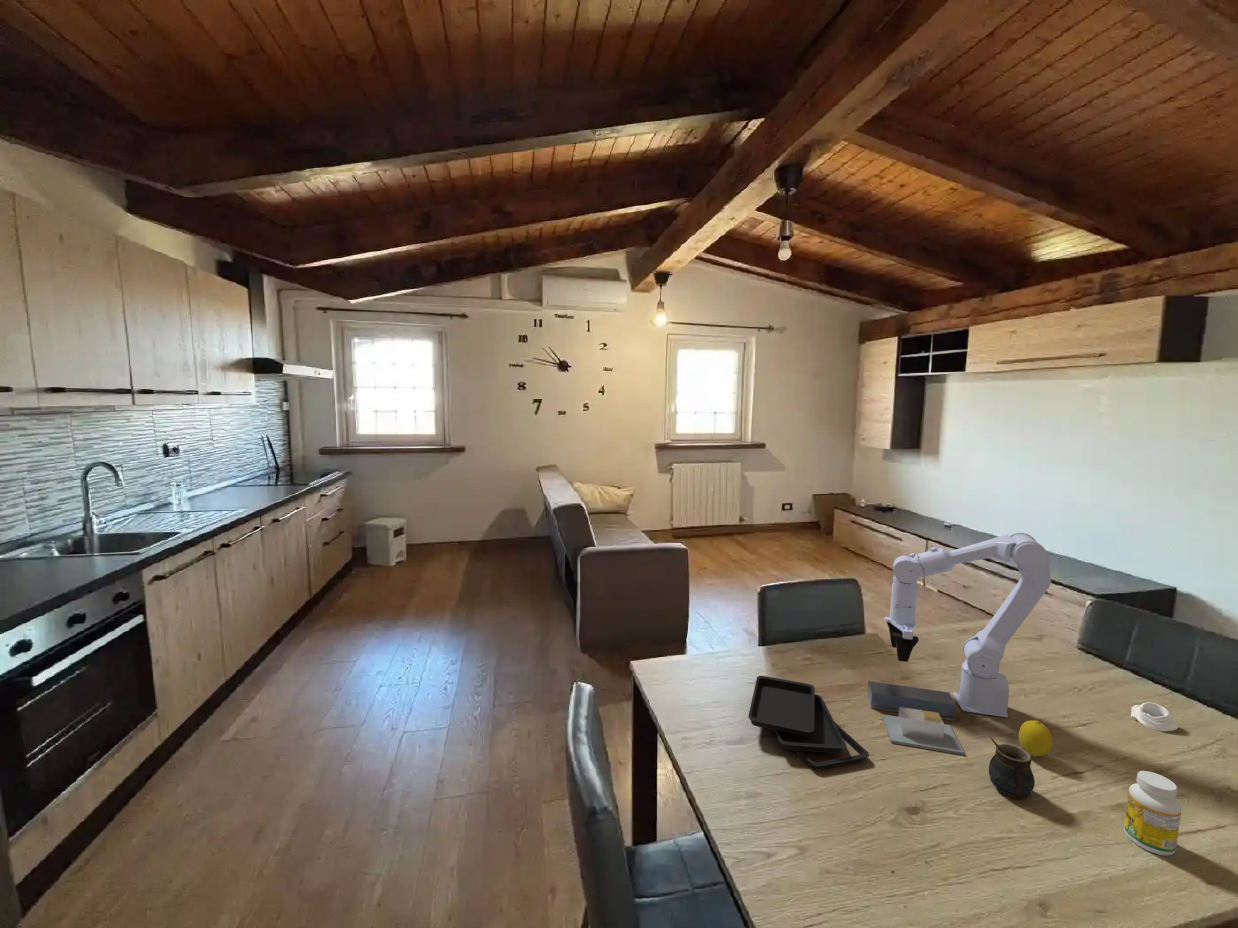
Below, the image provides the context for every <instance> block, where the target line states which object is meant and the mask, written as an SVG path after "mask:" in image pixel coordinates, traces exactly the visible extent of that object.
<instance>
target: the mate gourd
mask: <svg viewBox="0 0 1238 928" xmlns="http://www.w3.org/2000/svg"><path fill="white" fill-rule="evenodd" d="M989 739H990V740H991V742H992V743H993V744H994V745H995V753H994V755H993V756H992V758H991V759H990V761H989V764H988V775H989V779H990V782H991V783H992V785H993V786H994V787H995V788H996V789H997V790H998V791H999V792H1001V793H1002V794H1003V795H1006V796H1008V797H1011V798H1014V799H1016V800H1019V799H1025V798H1027V797H1029V796H1030V795H1032V792H1033V790H1034V788H1035V782H1036V781H1035V775H1034V773H1033V771H1032V769H1031V765H1032V756H1031V754H1030V753H1028V752H1027V751H1025V750H1024V749H1023V748H1021V747H1020V746H1017V745H1014V744H1010V743H1000V744H998V743H997V742H996V741H995V740H994V738H992V737H991V736H989Z"/></svg>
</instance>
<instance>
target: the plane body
mask: <svg viewBox="0 0 1238 928" xmlns="http://www.w3.org/2000/svg"><path fill="white" fill-rule="evenodd" d="M867 683H868V684H867V695H866V696H867V699H868V703H869V706H870V708H871V709H875V710H883V711H889V712H895V713H899V707H903V708H910V709H917V710H923V711H930V712H936V713H939V715H940V717H941V719H942V720H945V721H951V722H955V721H956V711H957V704H956V702H955V700H954V699H953V696H952V695H951V693H950V692H948V691H940V690H936V689H927V688H920V687H913V686H906V685H899V684H891V683H884V682H880V681H879V682H878V681H871V680H868V682H867Z"/></svg>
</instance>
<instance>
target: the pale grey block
mask: <svg viewBox="0 0 1238 928" xmlns="http://www.w3.org/2000/svg"><path fill="white" fill-rule="evenodd" d="M897 717H898V725H899V728H900V730H901V733H902V735H905V736H911V737H917V738H923V739H929V740H935V741H941V742H943V735H944V724H945V723H944V720H943V719H941V717H940V715H939V713H936V712H930V711H923V710H917V709H910V708H903V707H899V712H898V716H897Z"/></svg>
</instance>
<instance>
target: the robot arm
mask: <svg viewBox="0 0 1238 928" xmlns="http://www.w3.org/2000/svg"><path fill="white" fill-rule="evenodd" d="M929 549H930V550H928V551H923V552H919V553H914V552H912V553H910V554H909V556H908V555H900V556H898V557H896V558H895V560H894V561H893V562H892V564H891V565H892V570H893V576H892V577H893V578H892V584H891V595H890V607H889V608H890V610H889V616H884V618H883V620H884V621H885V622H886V624H887V627H888V631H889V632H888V633H889V639H890V645H891V647H892V648H895V649H896V656H897V660H898V661H899V662H905V663H908V662H909V660H910V657H911V654H912V651H913V650H914V648H915V646H916V645H917V644H918V642H919V640H920V639H919V637H918V636H915V635H914V630H915V628H916V611H917V597H918V596H917V595H918V587H917V586H918V585H917V583H918V582H917V581H918V580H919V579H920V578H925V577H929V576H933V575H939V574H942V573H947V572H952V571H953V568H954V567H955V565H959V564H964V563H969V562H974V561H981V560H986V559H990V558H994V559H997V560H1000V561H1004V562H1007V563H1010V562H1011V559H1013V561H1014V562H1015V564H1016V567H1017V569H1018V571H1019V575H1020V577H1021V578H1020V579H1019V580H1018V582H1017V583H1016V584H1015V586H1014V587H1013V589H1012V590H1011V591H1010V593H1009V594H1008V596H1007V597H1006V598H1005V599H1004V601H1003V603H1002V604H1001V605H1000V607H999V608H998V609H997V611H996V612H995V614H994V615H993V616H992V618H991V619H990V620H989V622H988V623H987V625H986V626H985V628H983V629H982V630H979V631H978V632H977V633H976V634H975V635H974V636H973V637H971V638H968V639H967V640H966V641H964V643H963V645H962V650H963V651H962V652H963V654H964V656H965V660H964V662H963V663H962V664H961V668H960V669H961V670H960V680H959V681H960V682H959V692H953V693H952V695H953V697H954V699H955V701H956V702H957V703H958V705H959V706H960V709H961V710H962V711H963V712H967V713H968V712H969V713H973V714H979V715H989V716H995V717H1000V718H1001V717H1002V718H1008V717H1009V715H1008V707H1009V706H1008V704H1009V694H1010V687H1009V684H1010V683H1009V681H1008V678H1007V676H1006V675H1005V674H1004V673H1000V672H999V671H1000V664H1001V661H1002V659H1003V658H1004V655H1005V650H1006V646H1007V644H1008V643H1009V641H1010V640H1011V639H1012V637H1013V636H1014V635H1015V633H1016V632H1017V631H1018V630H1019V628H1020V627H1021V626H1022V624H1023V623H1024V622H1025V620H1026V619H1027V617H1028V616H1029V615H1030V613H1031V612H1032V611H1033V609H1034V608H1035V607H1036V605H1038V602H1039V601H1040V600H1041V599H1042V597H1043V596H1044V594H1045V593H1046V592H1047V591H1048V589H1049V588H1050V586H1051V584H1052V579H1051V576H1052V575H1051V561H1052V559H1051V557H1050V556H1049V554H1048V551H1046V549H1045V547H1044V546H1043V545H1041V543H1038V541H1037V540H1036V539H1035V538H1034V537H1033V535H1030V534H1028V533H1025V532H1016V533H1013V534H1010V535H1009V534H1004V535H1000V536H997V537H994V538H990V539H986V540H983V541H980V542H977V543H974V544H971V545H967V546H964V547H959V548H957V549H953V550H947V549H945V548H942V547H940V548H937V547H936V546H932V547H930V548H929ZM1010 558H1011V559H1010Z"/></svg>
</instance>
